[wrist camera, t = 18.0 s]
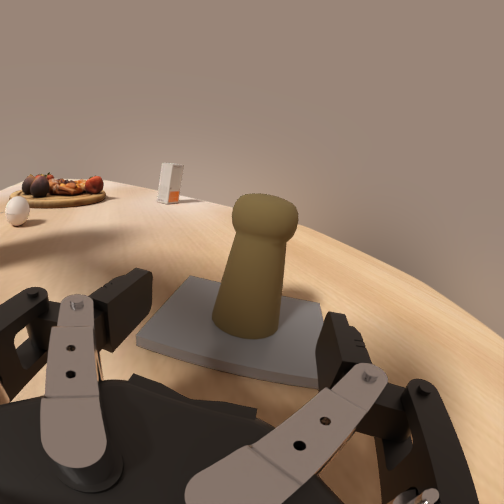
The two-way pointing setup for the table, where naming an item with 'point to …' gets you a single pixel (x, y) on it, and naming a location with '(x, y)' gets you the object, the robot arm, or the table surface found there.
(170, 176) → the skincare box
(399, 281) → the table surface
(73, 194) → the wooden plate with food
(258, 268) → the cork
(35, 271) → the table surface
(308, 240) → the table surface
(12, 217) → the white egg
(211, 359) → the slate tile
